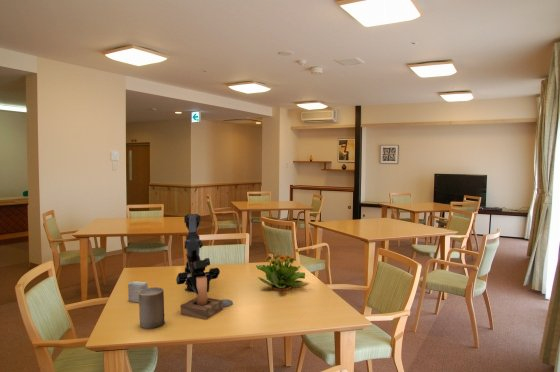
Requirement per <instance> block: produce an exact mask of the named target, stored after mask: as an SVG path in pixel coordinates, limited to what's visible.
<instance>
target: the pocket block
mask: <svg viewBox="0 0 560 372" xmlns="http://www.w3.org/2000/svg"><path fill="white" fill-rule="evenodd" d="M223 309H224V307H223V299H219V298H218V299H217V298H212V297H207V305H205V306H199V305H197V296H196V297H194V298H192V299H190V300H188V301H186V302H184V303H182V304H180V315H182V316H187V317H191V318H197V319H200V320H207V319H208V318H210V317H212V316H214V315H215V314H217V313H219V312H220V311H222V310H223Z"/></svg>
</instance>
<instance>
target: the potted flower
mask: <svg viewBox="0 0 560 372" xmlns="http://www.w3.org/2000/svg"><path fill="white" fill-rule="evenodd" d="M266 260H268V261H269V264H267V265H265V264H262V265H259V264H257V265H256V268H257V270H260V271H262V273H265V279H264V278H262V277H257V278H258V280H260V281H261V282H263V283H264V284H266V285H268V286H271V289H273V290H274V291H279V292H284V291H285V292H286V291H288V290H291V289H297V288H299V287H301V285H302V284H303V283H304V282H303V281H302V280H298V279H306V272H300V271H299V269H301V265H298V266H296V265H295V266H293V263H294V261H295V257H293V256H292V255H290V254H289V255H288V254H285V255H283V254H282V255H280V256H279V257H278V254H277V253H275V254H273V256H271V255H270V254H269V255H266Z"/></svg>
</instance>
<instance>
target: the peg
mask: <svg viewBox="0 0 560 372" xmlns="http://www.w3.org/2000/svg"><path fill="white" fill-rule="evenodd" d="M196 283H197V290H198V294H196V297H197V305H199V306H205V305H207V298H208V292H207V277H206V276H199V277H197V278H196Z"/></svg>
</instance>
